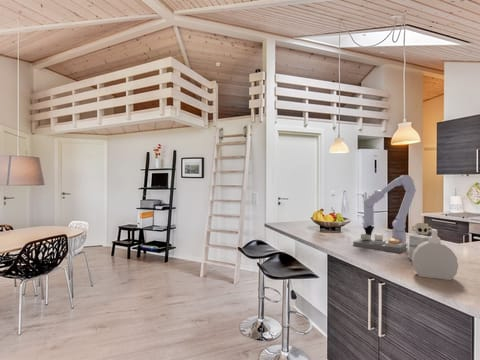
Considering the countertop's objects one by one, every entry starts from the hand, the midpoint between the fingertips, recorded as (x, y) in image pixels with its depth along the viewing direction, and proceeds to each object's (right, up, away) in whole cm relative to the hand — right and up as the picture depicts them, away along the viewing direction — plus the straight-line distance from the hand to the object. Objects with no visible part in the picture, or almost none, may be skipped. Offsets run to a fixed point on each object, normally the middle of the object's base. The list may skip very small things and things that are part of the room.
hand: (368, 237), depth 193 cm
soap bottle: (-1, -4, -67) cm, 67 cm away
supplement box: (+8, -4, -42) cm, 43 cm away
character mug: (+33, -4, -2) cm, 33 cm away
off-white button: (0, +1, -13) cm, 13 cm away
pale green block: (-4, -1, -4) cm, 5 cm away
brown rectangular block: (+8, -1, -18) cm, 20 cm away
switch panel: (+1, -4, -12) cm, 13 cm away
